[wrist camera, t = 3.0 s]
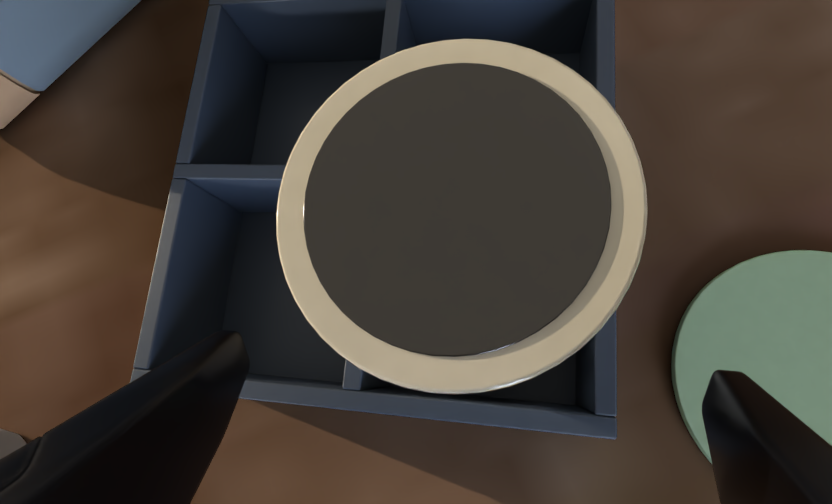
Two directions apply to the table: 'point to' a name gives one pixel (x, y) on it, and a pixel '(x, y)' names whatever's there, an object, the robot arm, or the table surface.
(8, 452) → the cup
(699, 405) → the coaster
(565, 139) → the pen pot
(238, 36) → the organizer
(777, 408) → the robot arm
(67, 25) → the blue rounded cube
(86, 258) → the table surface
